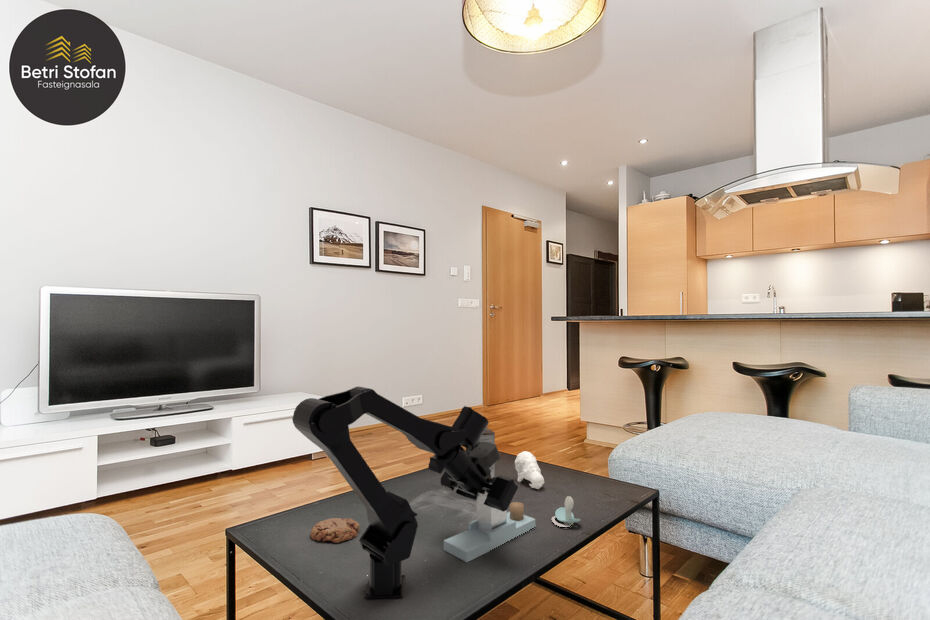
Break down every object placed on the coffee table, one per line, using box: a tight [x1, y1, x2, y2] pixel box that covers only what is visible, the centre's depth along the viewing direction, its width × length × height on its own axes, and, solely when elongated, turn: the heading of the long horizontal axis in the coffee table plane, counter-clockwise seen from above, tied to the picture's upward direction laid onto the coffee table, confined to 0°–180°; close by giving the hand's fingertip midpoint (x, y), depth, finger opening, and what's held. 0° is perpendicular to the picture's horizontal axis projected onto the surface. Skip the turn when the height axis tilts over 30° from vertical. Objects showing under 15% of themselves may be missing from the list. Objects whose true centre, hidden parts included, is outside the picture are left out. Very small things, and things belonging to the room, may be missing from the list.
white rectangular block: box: [476, 483, 508, 534], centre depth 103 cm, size 6×4×10 cm
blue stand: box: [443, 501, 536, 563], centre depth 102 cm, size 22×7×5 cm, turn 134°
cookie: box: [310, 517, 360, 544], centre depth 105 cm, size 10×11×3 cm
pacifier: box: [550, 495, 581, 528], centre depth 110 cm, size 7×6×6 cm
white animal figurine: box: [514, 450, 545, 490], centre depth 136 cm, size 6×8×12 cm
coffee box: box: [474, 426, 496, 479], centre depth 136 cm, size 9×6×16 cm
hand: (495, 504), depth 103 cm, fingers closed on white rectangular block, 4 cm apart
